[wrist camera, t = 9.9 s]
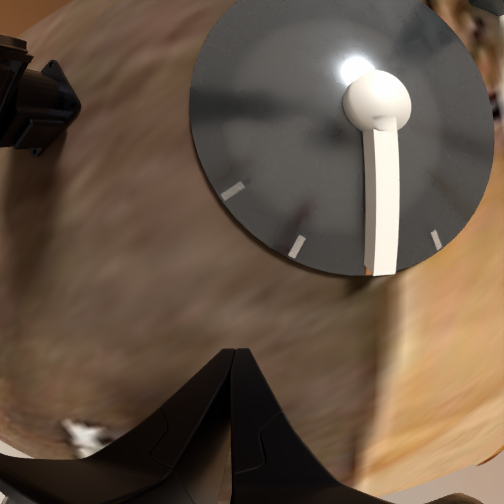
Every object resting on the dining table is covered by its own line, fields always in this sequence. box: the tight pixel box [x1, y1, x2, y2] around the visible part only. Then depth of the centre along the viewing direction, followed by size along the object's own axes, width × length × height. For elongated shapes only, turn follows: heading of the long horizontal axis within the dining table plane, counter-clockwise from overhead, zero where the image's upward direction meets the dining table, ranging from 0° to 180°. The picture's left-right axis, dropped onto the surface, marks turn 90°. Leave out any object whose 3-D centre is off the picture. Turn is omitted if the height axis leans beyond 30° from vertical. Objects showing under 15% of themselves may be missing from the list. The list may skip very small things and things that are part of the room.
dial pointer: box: [343, 70, 411, 276], centre depth 17 cm, size 13×4×2 cm, turn 4°
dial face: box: [190, 0, 494, 275], centre depth 17 cm, size 24×24×1 cm
